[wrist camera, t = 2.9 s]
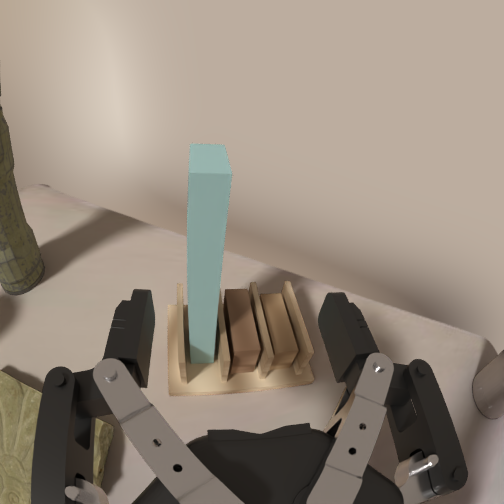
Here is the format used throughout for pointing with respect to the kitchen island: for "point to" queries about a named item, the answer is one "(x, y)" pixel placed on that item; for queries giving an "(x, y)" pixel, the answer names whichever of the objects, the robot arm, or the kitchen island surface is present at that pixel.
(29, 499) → the decorative tile
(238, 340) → the walnut offcut
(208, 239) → the teal board
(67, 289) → the kitchen island surface
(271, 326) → the oak offcut
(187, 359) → the beech rack
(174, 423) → the kitchen island surface
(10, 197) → the thermos
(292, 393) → the kitchen island surface
